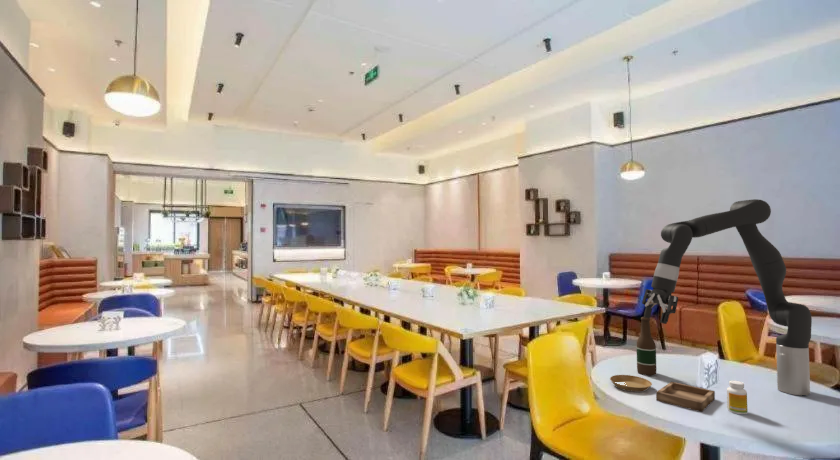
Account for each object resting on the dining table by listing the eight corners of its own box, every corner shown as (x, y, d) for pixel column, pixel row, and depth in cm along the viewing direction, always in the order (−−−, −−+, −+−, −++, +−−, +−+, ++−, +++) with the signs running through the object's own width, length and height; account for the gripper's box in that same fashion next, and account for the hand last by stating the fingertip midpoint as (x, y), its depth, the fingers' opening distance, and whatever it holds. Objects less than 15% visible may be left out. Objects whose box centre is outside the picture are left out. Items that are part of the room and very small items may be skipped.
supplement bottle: (751, 415, 138) (750, 385, 139) (732, 414, 139) (731, 384, 140) (742, 408, 144) (741, 380, 144) (724, 407, 145) (723, 379, 145)
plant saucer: (642, 381, 173) (642, 375, 173) (659, 394, 158) (658, 387, 158) (604, 380, 174) (604, 374, 174) (618, 393, 160) (617, 386, 160)
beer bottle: (660, 376, 178) (659, 318, 179) (642, 376, 179) (640, 319, 179) (650, 370, 186) (649, 315, 187) (633, 370, 186) (631, 315, 187)
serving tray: (671, 389, 163) (671, 381, 163) (714, 399, 152) (714, 391, 152) (656, 400, 152) (656, 392, 152) (701, 411, 141) (701, 402, 142)
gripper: (689, 282, 148) (678, 327, 148) (660, 276, 162) (650, 317, 162) (671, 278, 147) (659, 323, 147) (643, 272, 161) (633, 313, 161)
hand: (654, 320), depth 155 cm, fingers open, 8 cm apart
